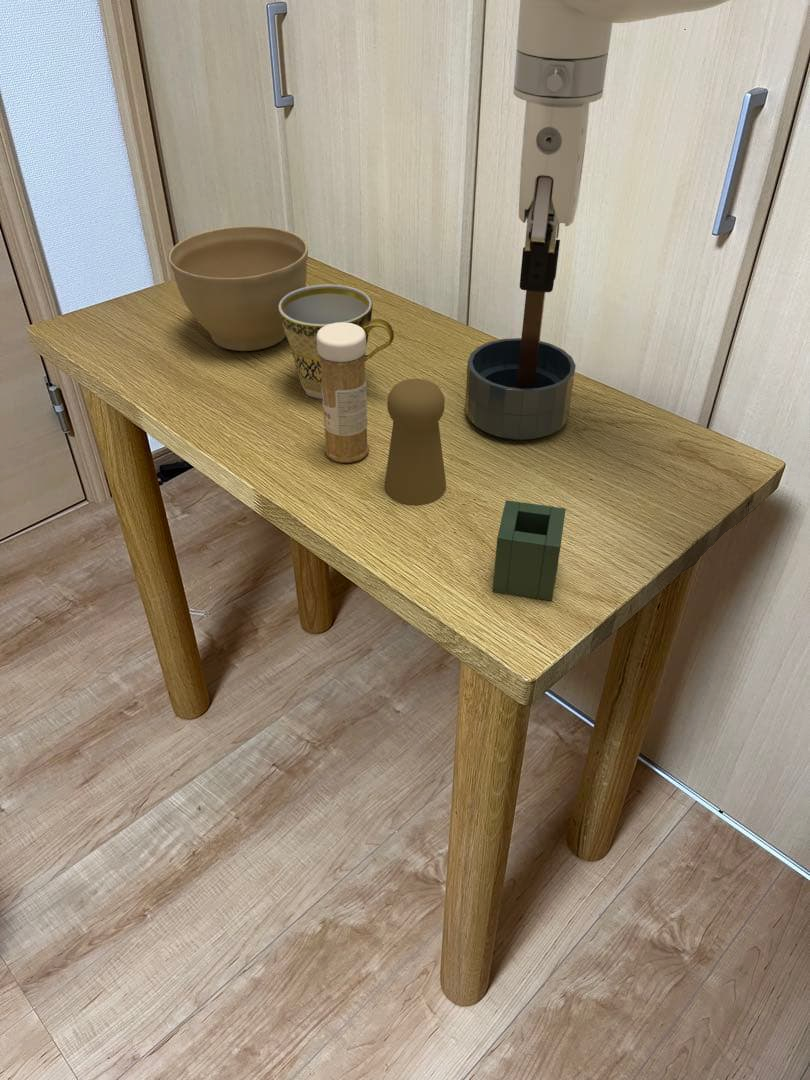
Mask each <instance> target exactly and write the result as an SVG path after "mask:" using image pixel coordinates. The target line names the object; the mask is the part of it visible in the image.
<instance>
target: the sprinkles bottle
mask: <svg viewBox="0 0 810 1080" xmlns="http://www.w3.org/2000/svg"><path fill="white" fill-rule="evenodd" d="M317 351H318V353H319V357H320V364H321V379H322V399H321V401H322V415H323V427H324V435H325V438H324V439H325V445H324V452H325V454H326V456H327V457H328V458H329V459H330V460H332V461H335V462H337V463H342V464H343V463H353V462H358V461H360V460H362V459H364V458H365V457H366V456H367V455H368V453H369V450H370V447H369V444H368V399H367V398H368V397H367V396H368V394H367V378H366V361H365V355H366V353H365V352H367V346H366V335H365V331H364V330H363V329H362V328H361V327H360V326H358V325H355V324H352V323H345V322H340V323H332V324H329V325H326V326H324V327H322V328H321V329H320V330H319V331H318V333H317Z"/></svg>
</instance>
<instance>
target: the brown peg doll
mask: <svg viewBox="0 0 810 1080" xmlns="http://www.w3.org/2000/svg"><path fill="white" fill-rule="evenodd" d="M445 400H446V399H445V394H444V393H443V391H442V389H441V388H440V386H439V385H438V384H436V383H435V382H434V381H431V380H428V379H423V378H408V379H404V380H402V381H398V382H397V383H396V384H394V385H393V386H392V388H391V390H390V391H389V393H388V395H387V402H386V403H387V404H386V406H387V408H386V409H387V412H388V415H389V417H390V419H391V421H393V422H392V429H391V436H390V442H389V443H390V444H389V450H388V457H387V464H386V471H385V478H384V487H383V488H384V491H385V493H386V495H387V496H388V497H390V498H391V499H392V500H394V501H396V502H398V503H400V504H405V505H409V506H410V505H411V506H413V505H414V506H421V505H425V504H426V505H427V504H431V503H433V502H435V501H438V500H439V499H440V498H441V497H442V496H444V494H445V492H446V490H447V482H446V473H445V472H446V471H445V465H444V456H443V447H442V439H441V432H440V424H439V421H440V420H441V419H442V417H443V414H444V412H445V405H446V404H445V403H446V401H445Z"/></svg>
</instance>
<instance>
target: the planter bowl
mask: <svg viewBox="0 0 810 1080" xmlns="http://www.w3.org/2000/svg"><path fill="white" fill-rule="evenodd" d="M308 255H309V247H308V244H307V242H306V240H305V239H304V238H303V237H302V236H300V235H299V234H297V233H294V232H292V231H290V230H286V229H283V228H278V227H273V226H262V225H240V226H228V227H222V228H221V227H220V228H215V229H211V230H207V231H203V232H199V233H197V234H196V233H195V234H194V235H191V236H189V237H186V238H184V239H182V240H181V241H180V242H178V243H176V244H175V245H174V246H173V247H172V248H171V249H170V252H169V254H168V261H169V266H170V268H171V270H172V273H173V275H174V279H175V282H176V287H177V289H178V291H179V295H180V297H181V299H182V300H183V302H184V304H185V306H186V307H187V309H188V311H189V312H190V314H191V315H192V316H193V318H194V319H195V320H196V321H197V322H198V324H200V326H202V328H204V329H205V330H206V331H207V332H208V333H209V335H210V339H211V340H212V342H213V343H215V345H217V346H219V347H221V348H223V349H226V350H230V351H237V352H248V351H258V350H263V349H267V348H270V347H273V346H275V345H277V344H279V343H280V342H282V341H283V340H284V339H285V338H287V336H286V334H285V331H284V327H283V324H282V320H281V316H280V312H279V303H280V301H281V300H282V298H283V297H285V296H286V295H287V294H289V293H290V292H292V291H295V290H297V289H300V288H303V287H306V285H307V276H308V275H307V274H308V270H307V269H308V265H307V264H308V263H307V261H308V257H309V256H308Z"/></svg>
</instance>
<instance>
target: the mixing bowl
mask: <svg viewBox="0 0 810 1080" xmlns="http://www.w3.org/2000/svg"><path fill="white" fill-rule="evenodd" d="M521 338H522V337H518V338H517V337H515V338H501V339H496V340H492V341H488V342H485V343H483V344H482V345H479V346H477V347H476V348H475V349H474V350H472V351H471V353H469V357H468V360H467V366H466V384H465V385H466V386H465V403H464V404H465V407H464V409H465V413H466V416H467V418H468V420H469V421H470V422H471V423H472V424H473V425H474V426H475V427H477V428H478V429H480V430H482V431H483V432H485V433H488V434H490V435H493V436H496V437H499V438H502V439H507V440H512V441H513V440H514V441H525V440H526V441H527V440H528V441H529V440H534V439H538V438H542V437H546V436H549V435H553V434H554V433H556V432H557V431H560V430H561V429H562V428H563V427H564V426H565V425H566V424H567V422H568V421H569V414H570V407H571V401H572V395H573V394H572V393H573V386H574V380H575V373H576V367H577V366H576V363H575V361H574V359H573V357H572V356H571V355H570V354H568V353H567V351H566V350H564V349H563V348H560V347H559V346H556V345H555V344H552V343H549V342H545V341H542V340H540V345H539V353H538V361H537V370H536V378H535V387H534V388H529V389H521V388H516V386H517V376H518V367H519V357H520V347H521Z"/></svg>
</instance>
